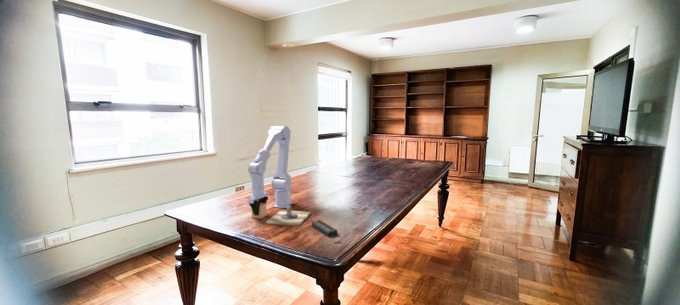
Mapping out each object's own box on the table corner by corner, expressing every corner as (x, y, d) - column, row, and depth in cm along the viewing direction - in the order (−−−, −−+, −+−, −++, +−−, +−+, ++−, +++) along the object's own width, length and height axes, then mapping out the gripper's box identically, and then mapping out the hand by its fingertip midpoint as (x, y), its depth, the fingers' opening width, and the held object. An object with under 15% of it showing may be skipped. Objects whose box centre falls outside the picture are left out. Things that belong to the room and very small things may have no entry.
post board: (281, 212, 148) (280, 200, 147) (310, 214, 144) (310, 202, 143) (266, 223, 132) (265, 210, 132) (298, 226, 129) (298, 213, 128)
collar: (257, 214, 145) (256, 202, 144) (266, 214, 144) (266, 203, 143) (252, 217, 140) (251, 205, 139) (261, 218, 139) (261, 206, 138)
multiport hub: (320, 225, 131) (319, 220, 130) (337, 235, 119) (337, 230, 118) (311, 227, 128) (311, 222, 128) (328, 238, 116) (328, 232, 116)
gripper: (258, 182, 148) (259, 208, 150) (242, 189, 134) (244, 217, 136) (270, 183, 146) (271, 208, 148) (255, 190, 132) (257, 218, 134)
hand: (259, 213), depth 142 cm, fingers closed on collar, 5 cm apart
